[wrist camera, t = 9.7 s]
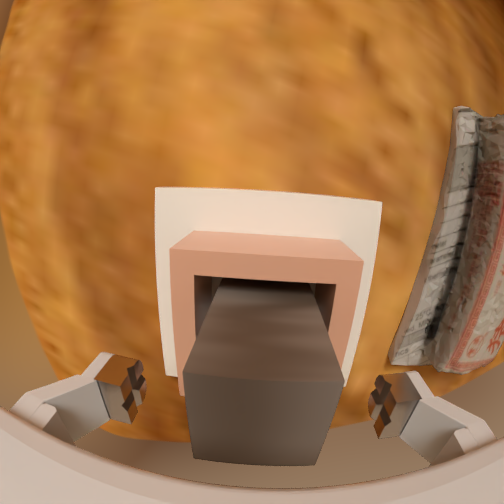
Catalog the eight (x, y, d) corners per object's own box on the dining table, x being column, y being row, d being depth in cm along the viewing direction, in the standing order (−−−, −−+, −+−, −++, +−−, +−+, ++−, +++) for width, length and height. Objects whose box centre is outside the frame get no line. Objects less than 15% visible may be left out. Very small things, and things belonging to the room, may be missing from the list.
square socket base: (374, 200, 15) (418, 211, 10) (341, 375, 18) (359, 428, 13) (162, 186, 15) (119, 191, 10) (170, 364, 18) (146, 415, 13)
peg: (303, 270, 15) (344, 381, 6) (295, 335, 16) (314, 465, 7) (228, 265, 15) (182, 371, 6) (226, 331, 16) (193, 458, 7)
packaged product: (491, 89, 9) (566, 159, 9) (446, 103, 14) (526, 157, 14) (406, 396, 13) (496, 388, 13) (381, 353, 18) (469, 358, 18)
